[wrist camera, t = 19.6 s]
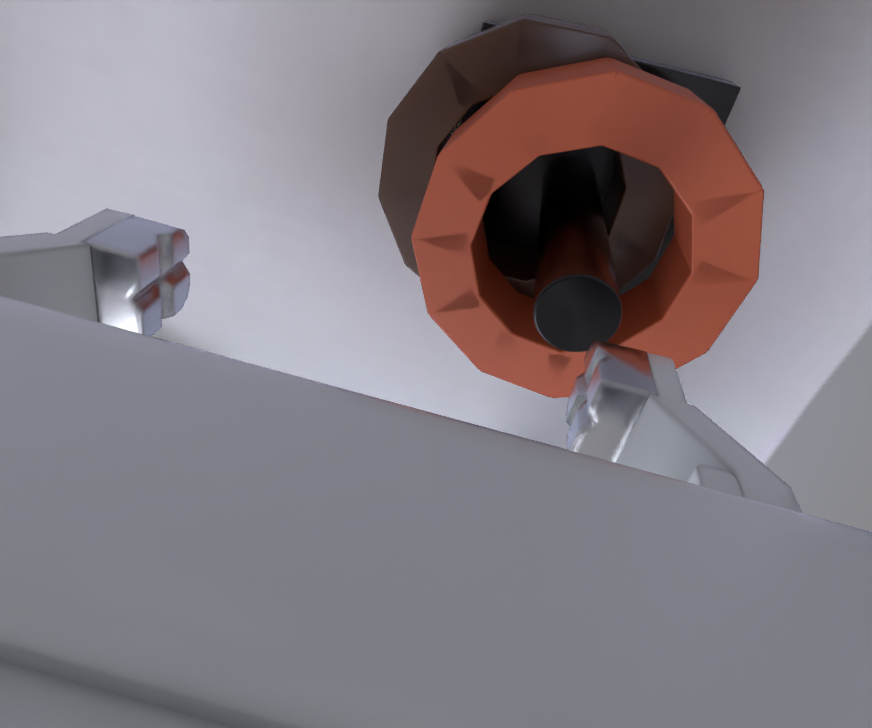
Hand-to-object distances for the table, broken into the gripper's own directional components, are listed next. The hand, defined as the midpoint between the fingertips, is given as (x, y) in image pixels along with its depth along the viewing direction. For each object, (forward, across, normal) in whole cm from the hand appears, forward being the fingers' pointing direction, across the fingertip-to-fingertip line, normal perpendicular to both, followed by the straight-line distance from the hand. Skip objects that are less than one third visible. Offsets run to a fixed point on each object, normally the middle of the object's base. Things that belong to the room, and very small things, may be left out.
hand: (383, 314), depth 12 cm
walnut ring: (+13, -2, 0) cm, 14 cm away
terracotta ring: (+10, -4, 0) cm, 11 cm away
